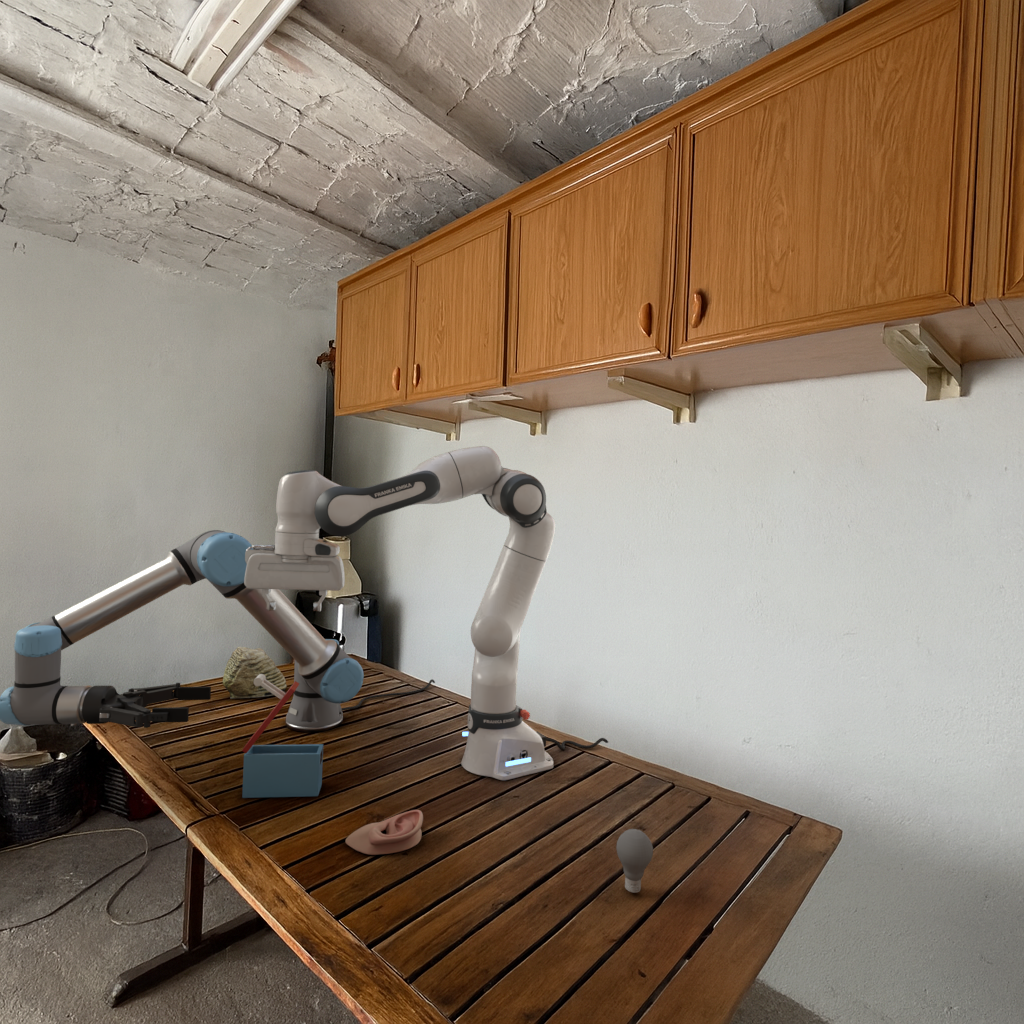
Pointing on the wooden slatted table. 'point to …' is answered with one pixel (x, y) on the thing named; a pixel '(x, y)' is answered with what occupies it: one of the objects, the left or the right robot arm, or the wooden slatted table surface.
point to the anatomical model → (388, 834)
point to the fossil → (251, 673)
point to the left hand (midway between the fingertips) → (199, 703)
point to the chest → (282, 771)
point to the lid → (284, 697)
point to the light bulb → (634, 857)
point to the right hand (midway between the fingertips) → (294, 610)
